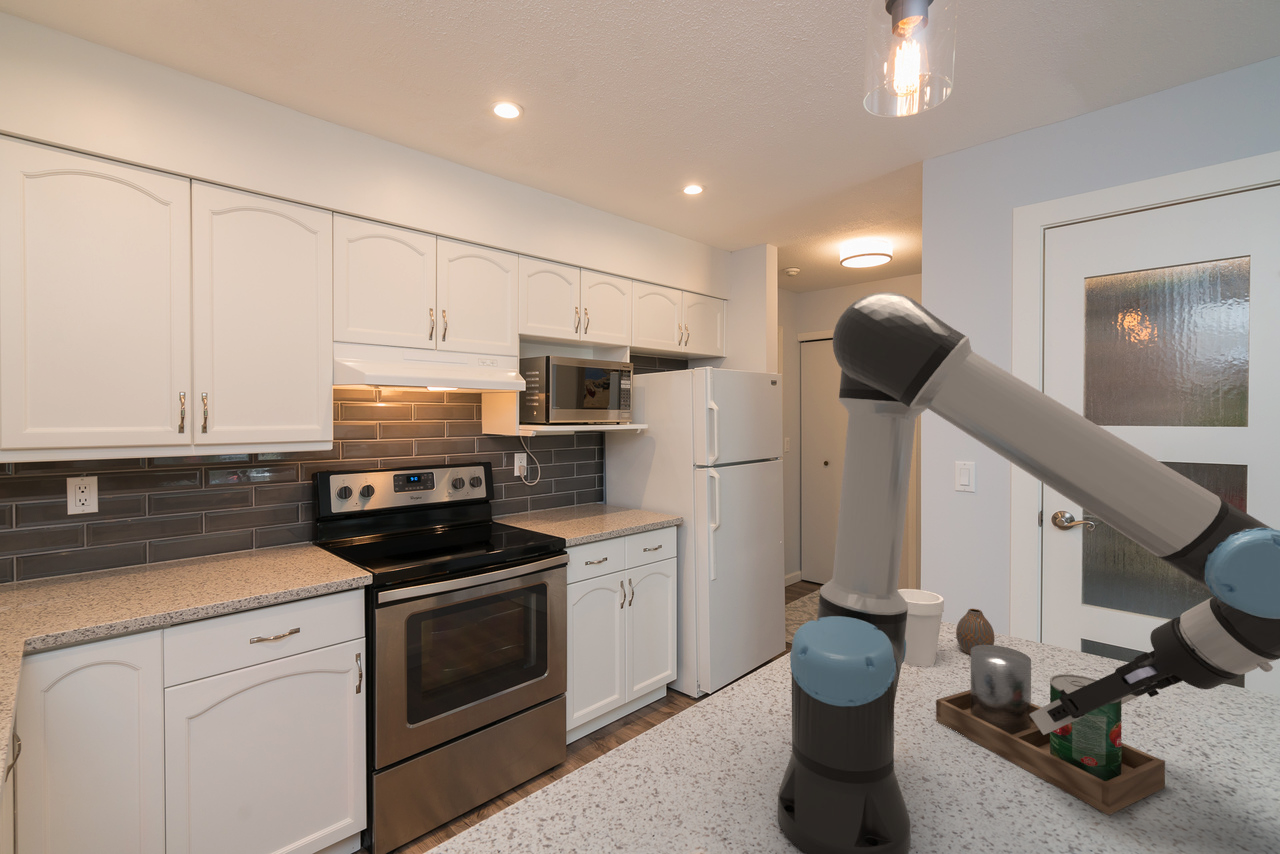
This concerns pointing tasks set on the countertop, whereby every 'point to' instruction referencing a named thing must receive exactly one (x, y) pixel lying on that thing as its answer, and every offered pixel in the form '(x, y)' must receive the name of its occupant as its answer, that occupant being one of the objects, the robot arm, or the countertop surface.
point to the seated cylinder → (1001, 687)
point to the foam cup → (922, 626)
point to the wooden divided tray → (1034, 756)
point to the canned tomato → (1088, 733)
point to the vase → (974, 630)
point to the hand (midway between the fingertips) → (1068, 713)
